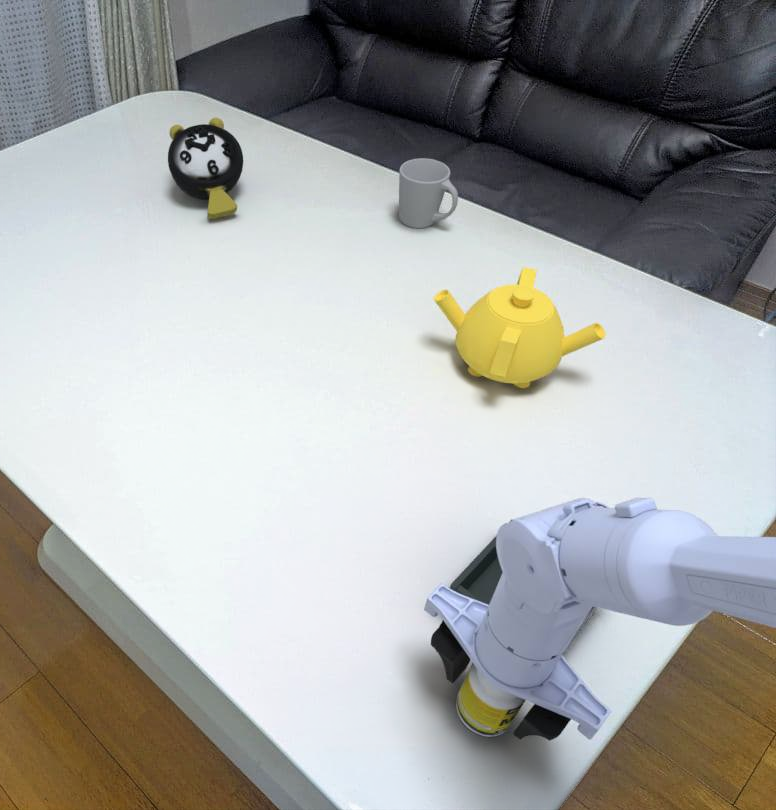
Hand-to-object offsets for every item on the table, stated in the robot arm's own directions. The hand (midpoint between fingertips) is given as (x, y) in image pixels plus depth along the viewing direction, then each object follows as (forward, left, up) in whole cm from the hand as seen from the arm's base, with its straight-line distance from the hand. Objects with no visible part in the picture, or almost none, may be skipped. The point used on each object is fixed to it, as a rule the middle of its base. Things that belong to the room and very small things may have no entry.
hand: (488, 700), depth 62 cm
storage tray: (+3, -10, -2) cm, 11 cm away
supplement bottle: (0, 0, -2) cm, 2 cm away
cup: (+50, -60, -2) cm, 78 cm away
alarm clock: (+81, -42, -2) cm, 91 cm away
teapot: (+23, -40, -2) cm, 46 cm away
